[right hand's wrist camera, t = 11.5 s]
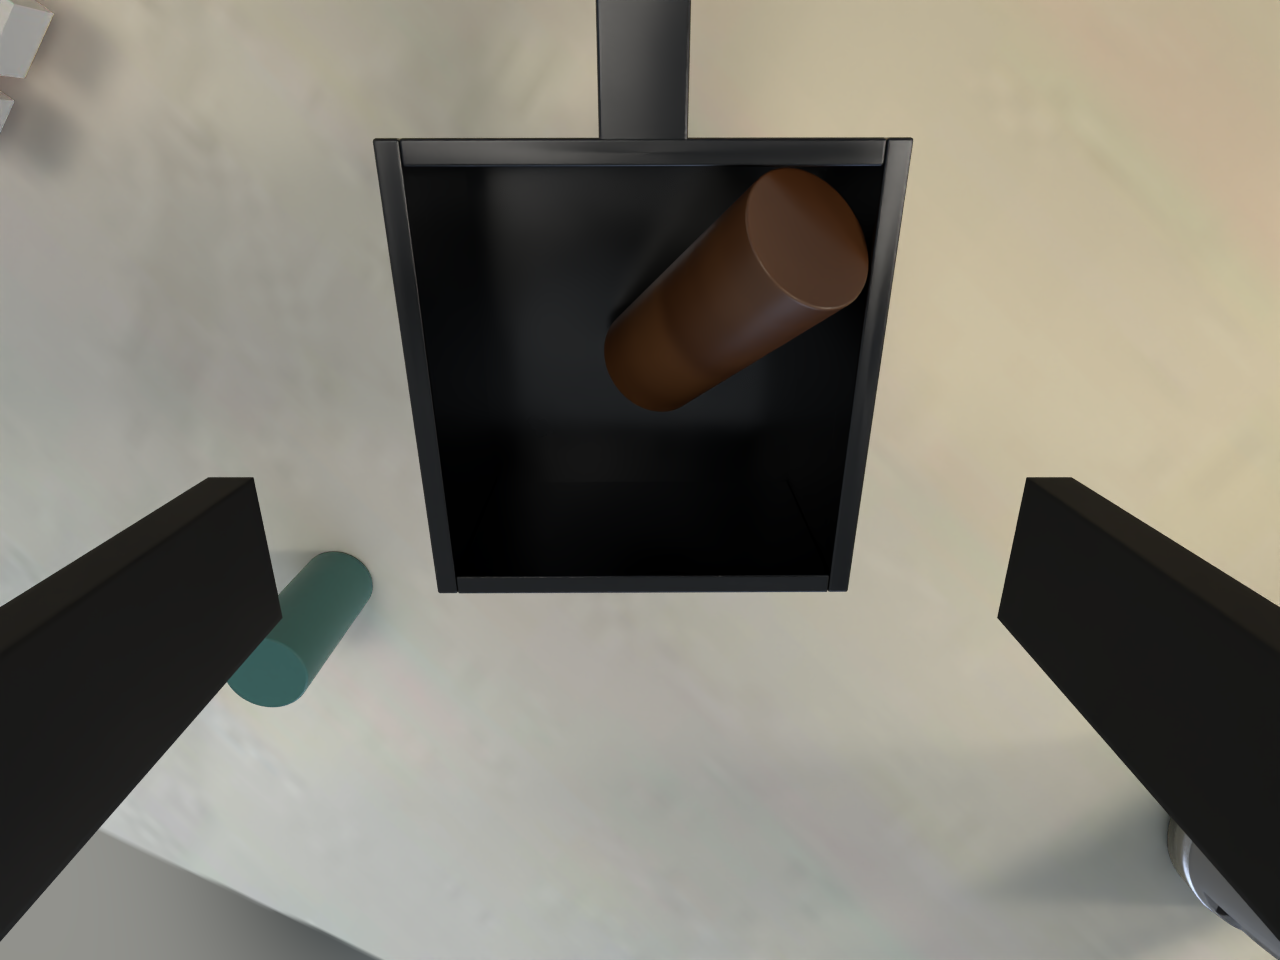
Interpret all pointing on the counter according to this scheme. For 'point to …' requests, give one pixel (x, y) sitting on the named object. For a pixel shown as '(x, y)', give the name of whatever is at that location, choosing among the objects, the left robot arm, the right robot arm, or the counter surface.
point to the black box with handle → (575, 336)
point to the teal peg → (304, 630)
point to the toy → (19, 41)
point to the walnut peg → (740, 291)
